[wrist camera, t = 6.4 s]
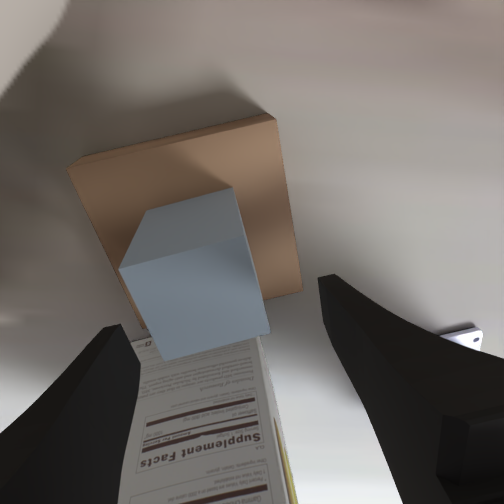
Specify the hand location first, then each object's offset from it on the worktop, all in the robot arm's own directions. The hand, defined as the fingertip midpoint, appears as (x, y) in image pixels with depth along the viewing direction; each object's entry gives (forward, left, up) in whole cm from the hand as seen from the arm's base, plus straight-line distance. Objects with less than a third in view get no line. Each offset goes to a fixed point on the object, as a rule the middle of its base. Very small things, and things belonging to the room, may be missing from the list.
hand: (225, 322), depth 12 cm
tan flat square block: (0, +1, -10) cm, 10 cm away
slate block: (0, +1, -7) cm, 7 cm away
